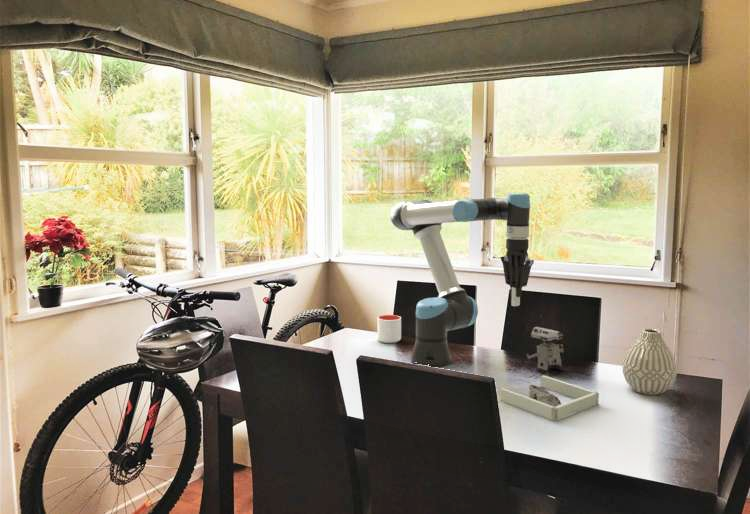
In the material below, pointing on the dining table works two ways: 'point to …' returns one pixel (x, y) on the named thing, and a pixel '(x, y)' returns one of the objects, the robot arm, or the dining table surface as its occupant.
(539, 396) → the mineral rock
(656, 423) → the dining table surface
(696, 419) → the dining table surface
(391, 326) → the cup
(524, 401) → the corral
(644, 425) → the dining table surface
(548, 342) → the figurine
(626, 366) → the vase
